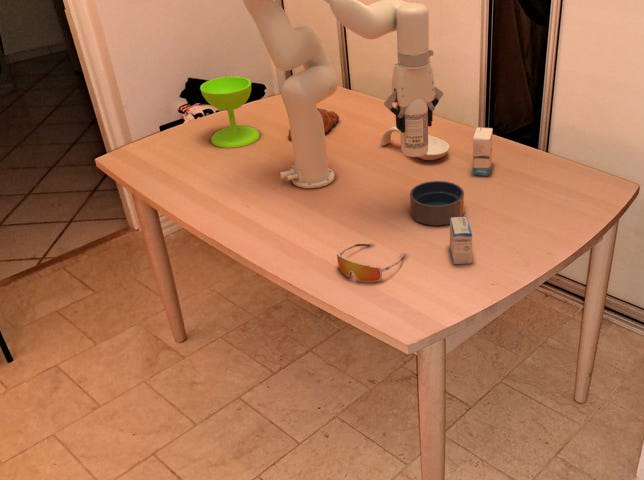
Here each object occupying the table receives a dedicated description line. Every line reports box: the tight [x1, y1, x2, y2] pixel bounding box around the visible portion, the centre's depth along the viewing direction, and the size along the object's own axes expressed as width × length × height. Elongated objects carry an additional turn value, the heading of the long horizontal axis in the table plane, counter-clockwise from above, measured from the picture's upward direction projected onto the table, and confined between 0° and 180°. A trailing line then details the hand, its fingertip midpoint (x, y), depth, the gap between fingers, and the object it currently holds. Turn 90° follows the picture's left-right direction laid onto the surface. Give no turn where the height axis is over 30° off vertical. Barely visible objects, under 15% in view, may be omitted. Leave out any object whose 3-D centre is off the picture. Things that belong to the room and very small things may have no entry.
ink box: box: [472, 126, 494, 177], centre depth 207 cm, size 9×5×12 cm, turn 168°
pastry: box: [288, 107, 340, 141], centre depth 236 cm, size 17×15×8 cm
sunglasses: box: [336, 242, 405, 283], centre depth 169 cm, size 14×15×5 cm
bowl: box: [409, 180, 465, 226], centre depth 188 cm, size 14×14×6 cm
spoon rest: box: [380, 125, 451, 161], centre depth 219 cm, size 24×12×7 cm, turn 56°
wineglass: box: [199, 76, 261, 149], centre depth 230 cm, size 16×16×18 cm
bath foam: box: [400, 99, 429, 158], centre depth 178 cm, size 7×7×20 cm
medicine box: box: [449, 216, 473, 265], centre depth 170 cm, size 8×4×9 cm, turn 5°
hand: (414, 127), depth 179 cm, fingers closed on bath foam, 6 cm apart
